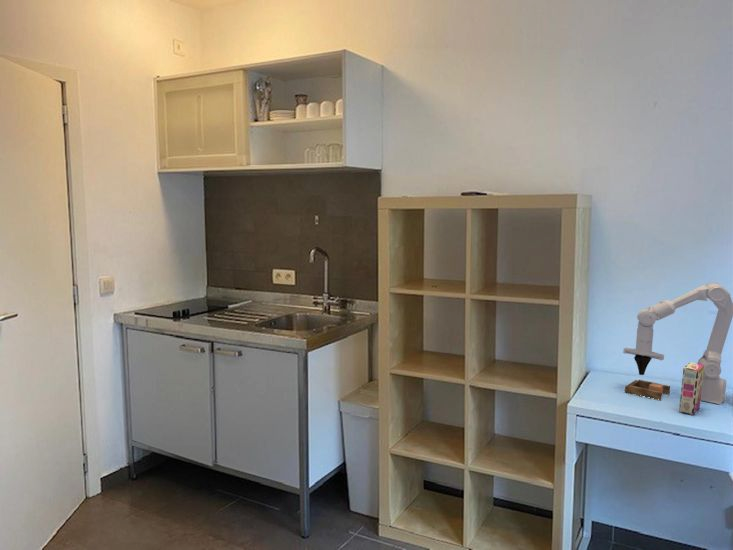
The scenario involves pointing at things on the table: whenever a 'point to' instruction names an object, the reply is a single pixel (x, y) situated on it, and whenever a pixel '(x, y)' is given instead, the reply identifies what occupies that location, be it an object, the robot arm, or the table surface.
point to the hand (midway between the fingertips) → (641, 374)
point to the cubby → (645, 389)
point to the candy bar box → (691, 388)
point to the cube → (656, 387)
